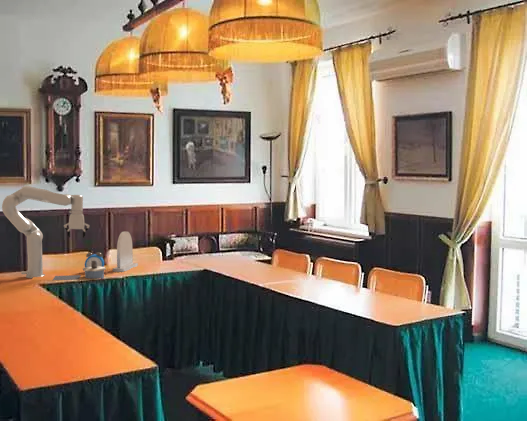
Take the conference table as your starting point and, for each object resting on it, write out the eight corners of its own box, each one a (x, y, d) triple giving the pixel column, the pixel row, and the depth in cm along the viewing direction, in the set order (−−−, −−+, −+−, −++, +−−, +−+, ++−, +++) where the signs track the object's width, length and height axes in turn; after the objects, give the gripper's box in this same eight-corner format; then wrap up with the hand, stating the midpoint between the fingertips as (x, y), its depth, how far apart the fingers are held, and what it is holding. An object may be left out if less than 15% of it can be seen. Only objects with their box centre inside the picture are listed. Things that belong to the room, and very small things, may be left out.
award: (126, 265, 494) (126, 229, 492) (137, 265, 492) (137, 229, 490) (112, 271, 466) (111, 233, 464) (123, 272, 465) (123, 233, 463)
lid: (81, 271, 431) (81, 262, 430) (84, 268, 446) (84, 259, 445) (104, 271, 433) (104, 262, 433) (106, 267, 448) (106, 258, 447)
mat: (52, 281, 426) (52, 280, 426) (55, 277, 442) (55, 275, 442) (79, 281, 429) (79, 279, 429) (81, 276, 446) (81, 275, 446)
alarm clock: (84, 274, 455) (84, 253, 454) (85, 272, 461) (85, 251, 460) (103, 273, 457) (103, 252, 455) (104, 272, 463) (104, 251, 462)
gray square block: (86, 280, 431) (86, 271, 431) (84, 277, 442) (84, 268, 442) (105, 279, 436) (105, 270, 436) (102, 276, 447) (101, 267, 447)
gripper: (63, 212, 443) (62, 237, 444) (89, 213, 445) (88, 238, 447) (64, 211, 450) (64, 236, 451) (90, 212, 453) (90, 236, 454)
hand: (76, 237), depth 449 cm, fingers open, 9 cm apart
